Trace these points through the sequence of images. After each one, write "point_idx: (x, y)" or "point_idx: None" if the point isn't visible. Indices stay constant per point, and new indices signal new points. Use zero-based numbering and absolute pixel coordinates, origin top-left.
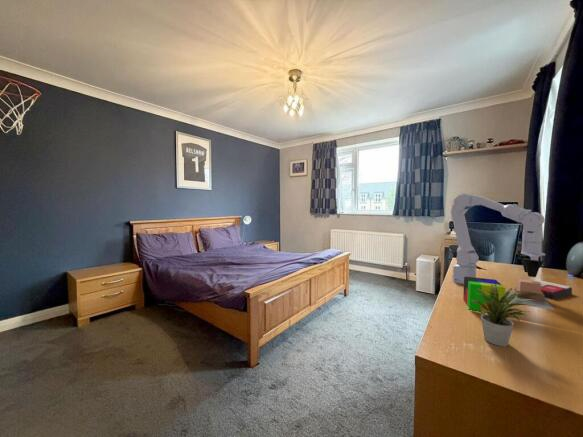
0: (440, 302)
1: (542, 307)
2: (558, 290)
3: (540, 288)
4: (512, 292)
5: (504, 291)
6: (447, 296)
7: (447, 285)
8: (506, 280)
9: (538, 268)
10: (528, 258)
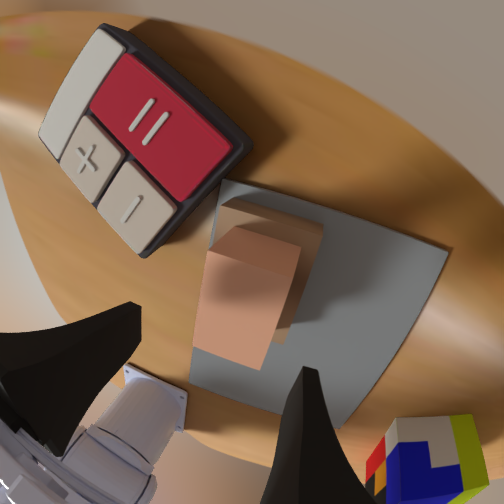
0: None
1: (425, 287)
2: (179, 96)
3: (296, 263)
4: None
5: (485, 474)
6: None
7: (219, 450)
8: (34, 225)
9: (339, 448)
10: (52, 415)
